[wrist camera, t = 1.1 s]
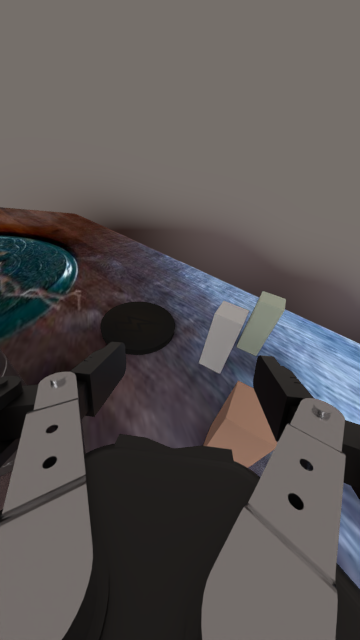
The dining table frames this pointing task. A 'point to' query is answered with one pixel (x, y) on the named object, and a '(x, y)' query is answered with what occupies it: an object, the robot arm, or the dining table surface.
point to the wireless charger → (138, 327)
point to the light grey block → (222, 335)
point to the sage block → (261, 322)
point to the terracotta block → (242, 427)
